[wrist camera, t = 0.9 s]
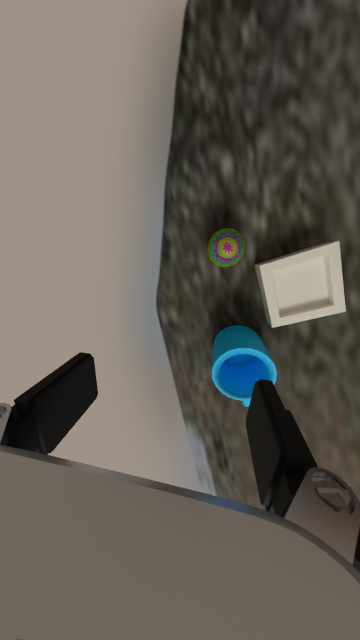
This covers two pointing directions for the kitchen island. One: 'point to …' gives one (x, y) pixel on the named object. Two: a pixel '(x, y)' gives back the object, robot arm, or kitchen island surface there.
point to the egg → (226, 247)
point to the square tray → (302, 285)
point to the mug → (240, 362)
